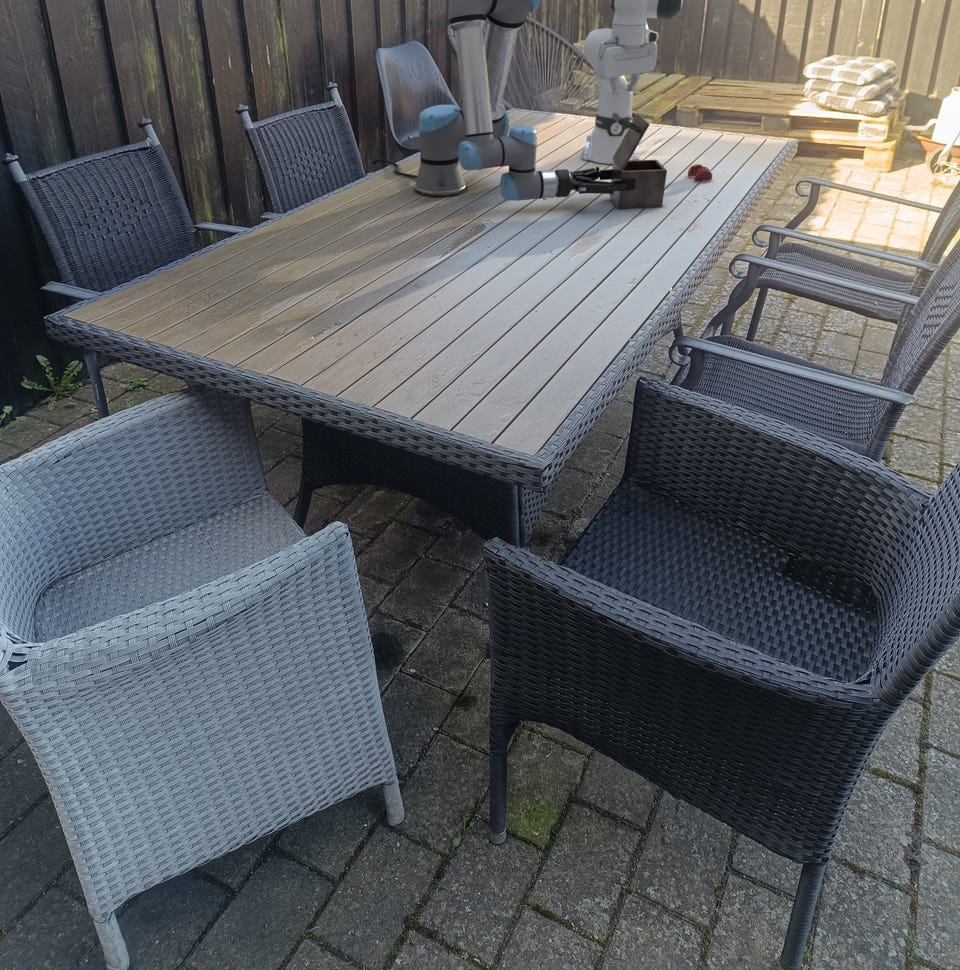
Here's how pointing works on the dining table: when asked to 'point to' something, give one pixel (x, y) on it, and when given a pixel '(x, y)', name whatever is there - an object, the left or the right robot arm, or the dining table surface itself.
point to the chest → (640, 184)
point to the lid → (629, 138)
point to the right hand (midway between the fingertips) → (623, 92)
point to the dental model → (700, 173)
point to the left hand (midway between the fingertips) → (627, 179)
